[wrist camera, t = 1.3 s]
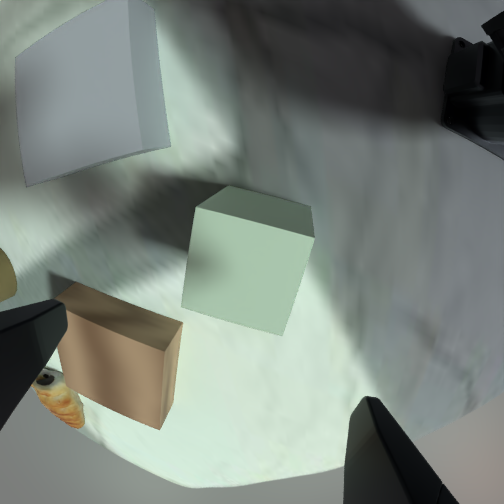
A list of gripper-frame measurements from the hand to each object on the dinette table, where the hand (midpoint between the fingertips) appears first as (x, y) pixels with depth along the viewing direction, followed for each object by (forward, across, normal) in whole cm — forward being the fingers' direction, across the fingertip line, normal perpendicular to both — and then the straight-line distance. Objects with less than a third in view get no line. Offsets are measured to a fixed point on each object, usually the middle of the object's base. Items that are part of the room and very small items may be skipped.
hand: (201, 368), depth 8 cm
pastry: (+12, +19, +26) cm, 34 cm away
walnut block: (+12, +9, +13) cm, 20 cm away
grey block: (+12, +13, -7) cm, 19 cm away
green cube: (+12, 0, 0) cm, 12 cm away
